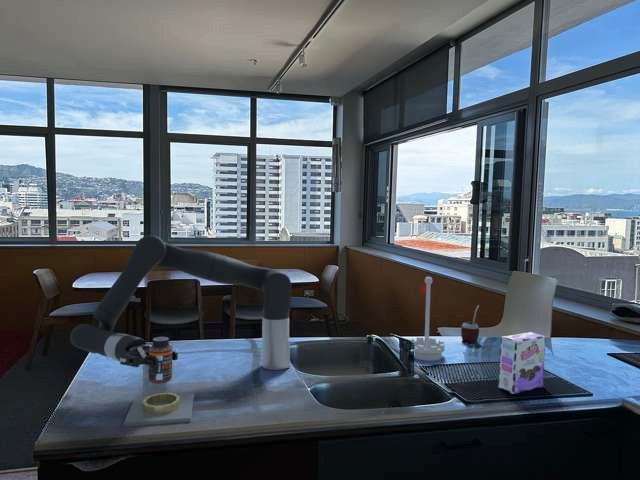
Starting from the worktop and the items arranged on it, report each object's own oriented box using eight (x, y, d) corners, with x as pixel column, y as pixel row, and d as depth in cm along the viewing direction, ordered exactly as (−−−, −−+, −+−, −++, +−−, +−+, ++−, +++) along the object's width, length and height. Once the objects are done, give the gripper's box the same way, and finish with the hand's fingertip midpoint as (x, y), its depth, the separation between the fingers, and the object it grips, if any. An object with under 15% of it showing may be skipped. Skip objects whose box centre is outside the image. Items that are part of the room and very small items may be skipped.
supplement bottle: (164, 385, 121) (164, 342, 120) (144, 383, 122) (143, 340, 121) (176, 377, 127) (176, 336, 126) (156, 374, 128) (156, 334, 127)
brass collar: (180, 398, 130) (180, 391, 130) (177, 413, 121) (177, 405, 121) (146, 401, 128) (146, 394, 128) (140, 415, 119) (140, 408, 119)
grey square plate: (194, 396, 134) (194, 393, 134) (190, 421, 119) (190, 417, 119) (135, 400, 131) (135, 397, 131) (123, 426, 115) (123, 422, 115)
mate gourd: (462, 344, 191) (463, 308, 190) (459, 338, 198) (460, 304, 197) (481, 345, 189) (482, 309, 188) (477, 340, 197) (479, 305, 196)
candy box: (513, 394, 139) (515, 340, 138) (497, 388, 144) (499, 335, 143) (544, 387, 146) (546, 335, 144) (527, 380, 151) (530, 331, 150)
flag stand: (451, 357, 173) (454, 277, 171) (427, 363, 166) (429, 280, 164) (425, 348, 184) (427, 273, 182) (401, 354, 177) (403, 275, 175)
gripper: (102, 341, 125) (144, 352, 116) (146, 329, 137) (187, 339, 129) (102, 368, 125) (144, 382, 117) (146, 354, 138) (187, 365, 129)
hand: (167, 359), depth 123 cm, fingers closed on supplement bottle, 6 cm apart
